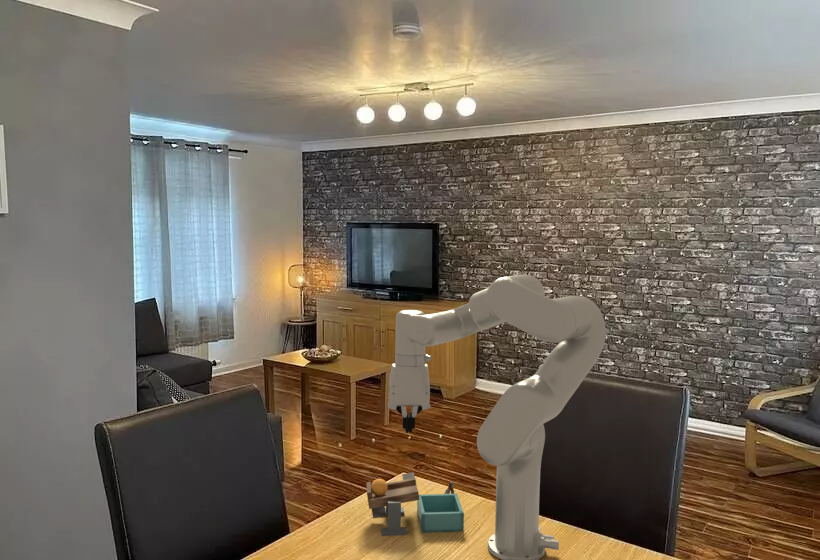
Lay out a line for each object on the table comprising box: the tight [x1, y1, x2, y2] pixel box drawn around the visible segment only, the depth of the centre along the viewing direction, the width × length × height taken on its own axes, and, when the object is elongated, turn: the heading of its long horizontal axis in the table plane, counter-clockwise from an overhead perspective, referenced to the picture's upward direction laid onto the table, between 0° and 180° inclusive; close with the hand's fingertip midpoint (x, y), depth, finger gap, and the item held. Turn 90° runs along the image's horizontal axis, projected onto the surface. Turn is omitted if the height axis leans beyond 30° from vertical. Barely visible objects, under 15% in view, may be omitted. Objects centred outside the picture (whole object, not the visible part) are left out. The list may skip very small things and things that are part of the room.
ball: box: [371, 478, 388, 496], centre depth 150 cm, size 4×4×4 cm
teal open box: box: [416, 493, 465, 534], centre depth 152 cm, size 10×11×4 cm
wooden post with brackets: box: [443, 481, 456, 494], centre depth 163 cm, size 2×8×4 cm, turn 152°
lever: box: [366, 471, 420, 519], centre depth 154 cm, size 12×14×6 cm
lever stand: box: [380, 501, 408, 537], centre depth 151 cm, size 6×12×8 cm, turn 5°
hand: (408, 431), depth 158 cm, fingers closed
